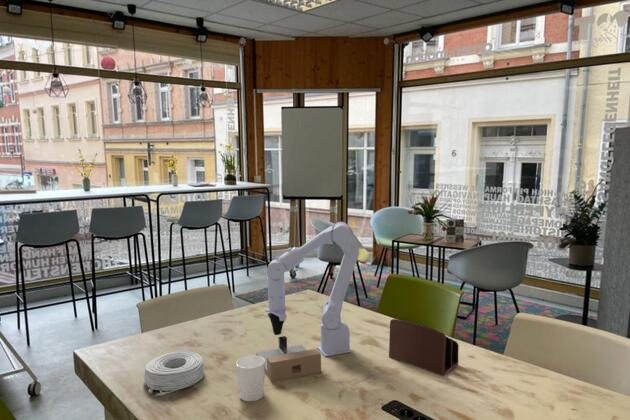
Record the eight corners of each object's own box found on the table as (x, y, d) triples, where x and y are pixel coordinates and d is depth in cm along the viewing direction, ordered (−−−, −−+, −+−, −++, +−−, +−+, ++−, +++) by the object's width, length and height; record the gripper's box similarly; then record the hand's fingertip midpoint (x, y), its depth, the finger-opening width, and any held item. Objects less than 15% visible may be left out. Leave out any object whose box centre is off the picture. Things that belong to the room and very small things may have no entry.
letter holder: (443, 377, 136) (444, 332, 134) (388, 357, 149) (388, 316, 147) (458, 365, 143) (459, 322, 141) (404, 347, 156) (404, 308, 155)
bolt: (278, 351, 150) (277, 336, 150) (285, 350, 151) (284, 335, 150) (287, 364, 141) (286, 348, 140) (294, 363, 142) (294, 347, 141)
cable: (151, 401, 125) (149, 380, 124) (138, 375, 139) (137, 356, 139) (212, 383, 134) (211, 364, 133) (194, 361, 149) (193, 343, 148)
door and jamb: (256, 356, 150) (256, 339, 150) (301, 348, 156) (301, 332, 155) (270, 382, 134) (270, 362, 133) (321, 372, 139) (320, 353, 139)
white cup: (260, 404, 122) (259, 369, 121) (233, 401, 124) (231, 366, 122) (269, 389, 130) (268, 356, 128) (243, 386, 131) (242, 354, 130)
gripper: (259, 290, 158) (260, 328, 160) (270, 303, 144) (271, 344, 146) (279, 288, 160) (279, 325, 162) (291, 300, 147) (292, 340, 149)
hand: (277, 334), depth 154 cm, fingers closed
